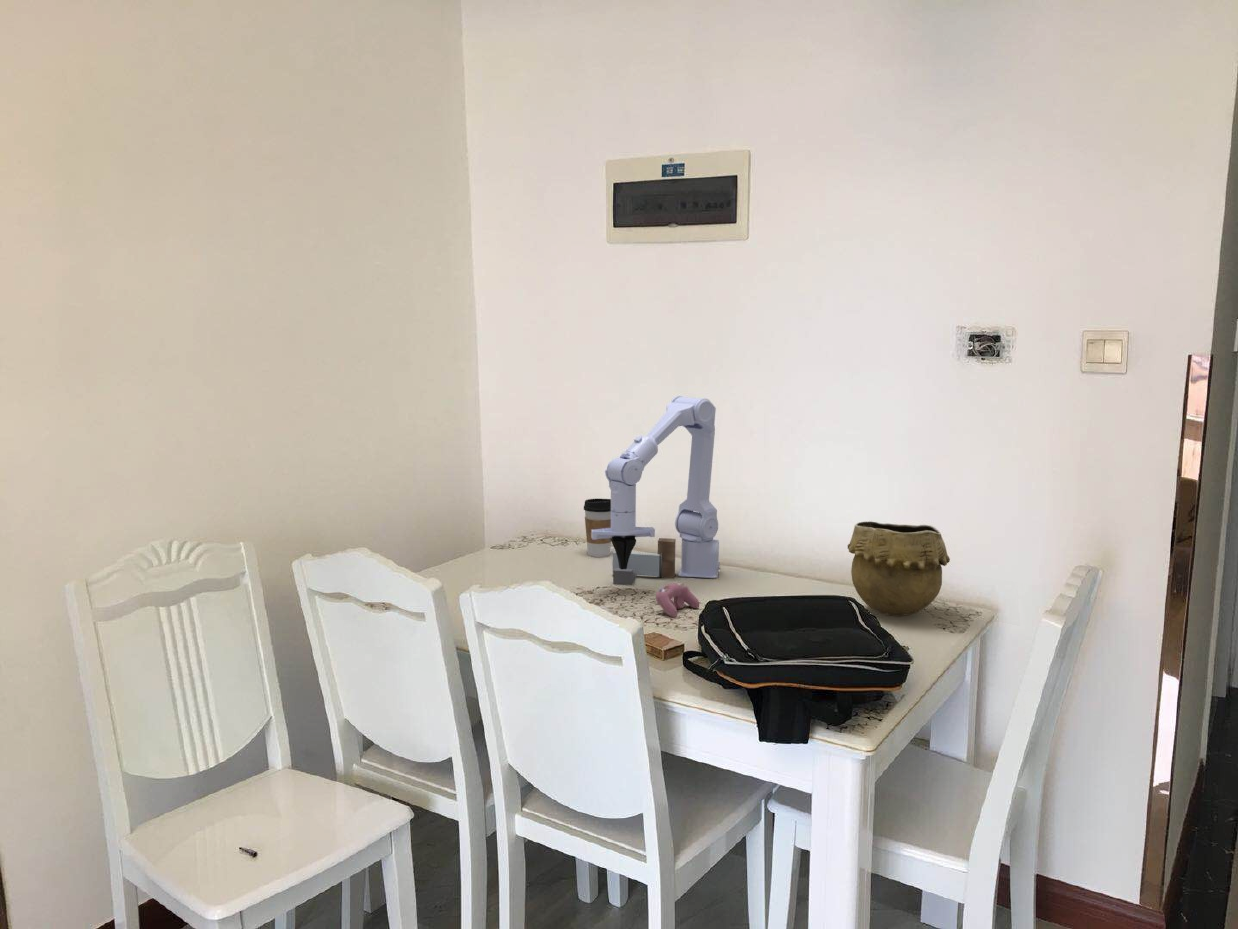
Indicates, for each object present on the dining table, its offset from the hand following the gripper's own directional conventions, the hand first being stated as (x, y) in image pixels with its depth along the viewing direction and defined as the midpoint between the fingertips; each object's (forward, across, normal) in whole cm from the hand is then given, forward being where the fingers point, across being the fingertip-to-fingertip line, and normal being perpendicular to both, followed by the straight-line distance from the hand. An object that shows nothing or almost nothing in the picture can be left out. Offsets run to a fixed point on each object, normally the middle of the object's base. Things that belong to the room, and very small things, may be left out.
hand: (622, 568), depth 222 cm
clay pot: (+6, -55, +26) cm, 61 cm away
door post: (+6, -13, -12) cm, 19 cm away
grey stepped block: (+6, -2, -9) cm, 11 cm away
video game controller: (+6, -8, +17) cm, 20 cm away
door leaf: (+5, -6, -12) cm, 15 cm away
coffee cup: (+6, -1, -36) cm, 36 cm away
